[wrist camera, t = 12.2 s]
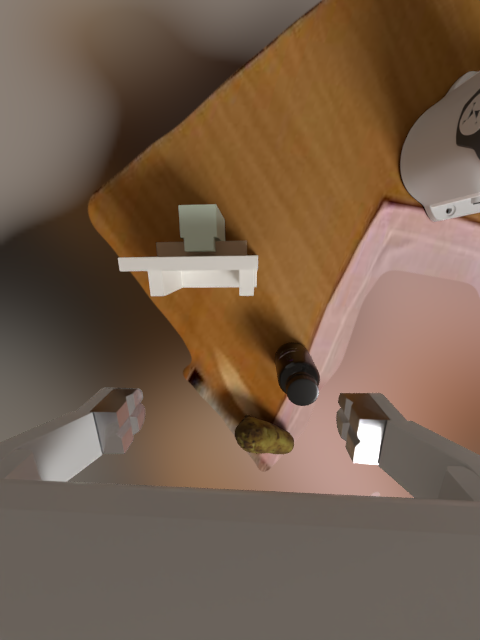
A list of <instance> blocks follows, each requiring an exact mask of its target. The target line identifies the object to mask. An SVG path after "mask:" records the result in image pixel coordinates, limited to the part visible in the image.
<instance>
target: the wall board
mask: <svg viewBox="0 0 480 640" xmlns="http://www.w3.org/2000/svg"><path fill="white" fill-rule="evenodd" d="M156 249H157V257H130V258H118V262H119V268H120V271H148V277H149V285H150V293H151V296H165V295H167V294H170V293H172V292H174V291H176V290H178V289H180V288H182V287H239V290H240V296H254V287H257V270H258V255H247V241H215V250H216V252H186V251H185V248H184V242H156Z"/></svg>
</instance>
